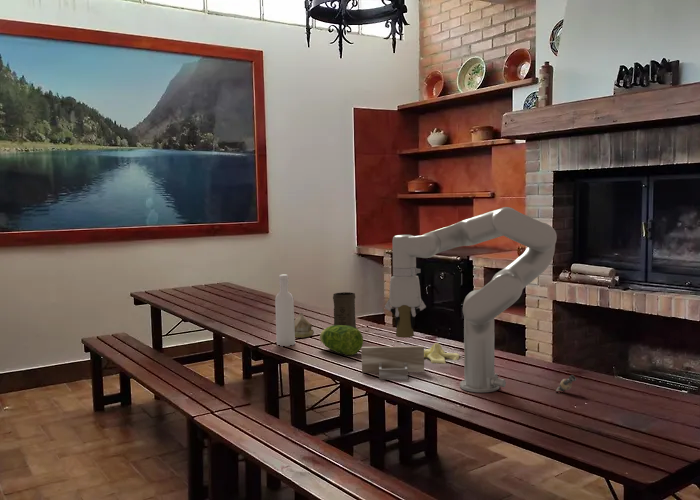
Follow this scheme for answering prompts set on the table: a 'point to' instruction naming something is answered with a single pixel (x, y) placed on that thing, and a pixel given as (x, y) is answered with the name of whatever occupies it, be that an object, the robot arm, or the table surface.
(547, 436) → the table surface
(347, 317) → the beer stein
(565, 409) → the table surface
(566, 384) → the vase
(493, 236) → the robot arm
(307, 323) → the ceramic model
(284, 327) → the bottle
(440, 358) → the cloth
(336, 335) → the lettuce
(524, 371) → the table surface
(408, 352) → the wall board holder
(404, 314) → the olive rounded piece
